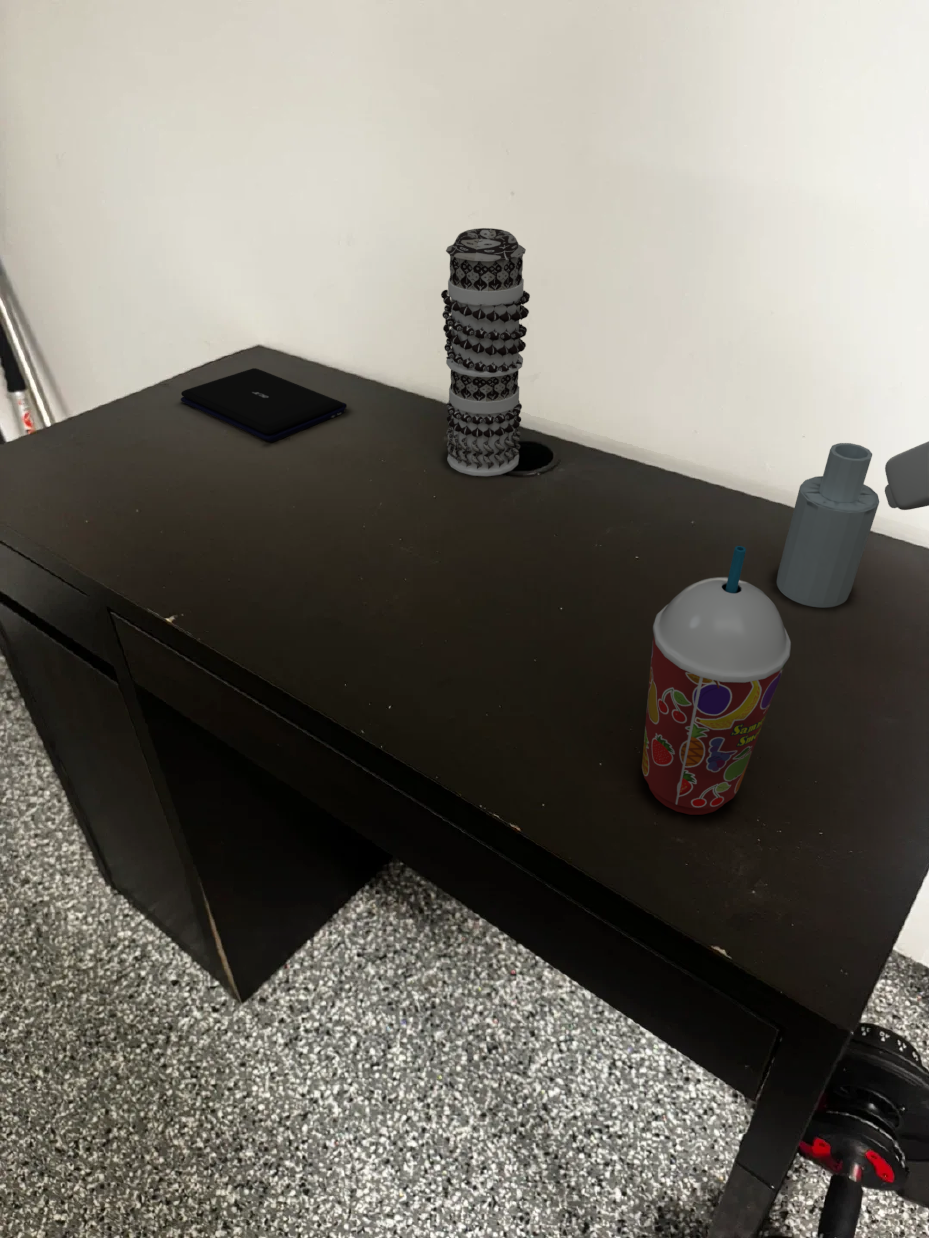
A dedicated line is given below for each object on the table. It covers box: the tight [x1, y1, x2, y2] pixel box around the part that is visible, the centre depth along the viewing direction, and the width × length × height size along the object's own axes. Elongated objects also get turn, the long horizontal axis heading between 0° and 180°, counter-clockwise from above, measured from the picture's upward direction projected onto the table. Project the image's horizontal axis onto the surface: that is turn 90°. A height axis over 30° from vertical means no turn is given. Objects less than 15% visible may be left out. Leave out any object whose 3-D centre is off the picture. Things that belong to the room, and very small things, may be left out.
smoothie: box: [641, 545, 792, 816], centre depth 58 cm, size 8×8×20 cm
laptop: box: [180, 367, 347, 443], centre depth 116 cm, size 16×20×2 cm
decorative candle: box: [440, 227, 531, 477], centre depth 97 cm, size 9×9×25 cm
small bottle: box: [775, 442, 880, 609], centre depth 80 cm, size 6×6×14 cm
